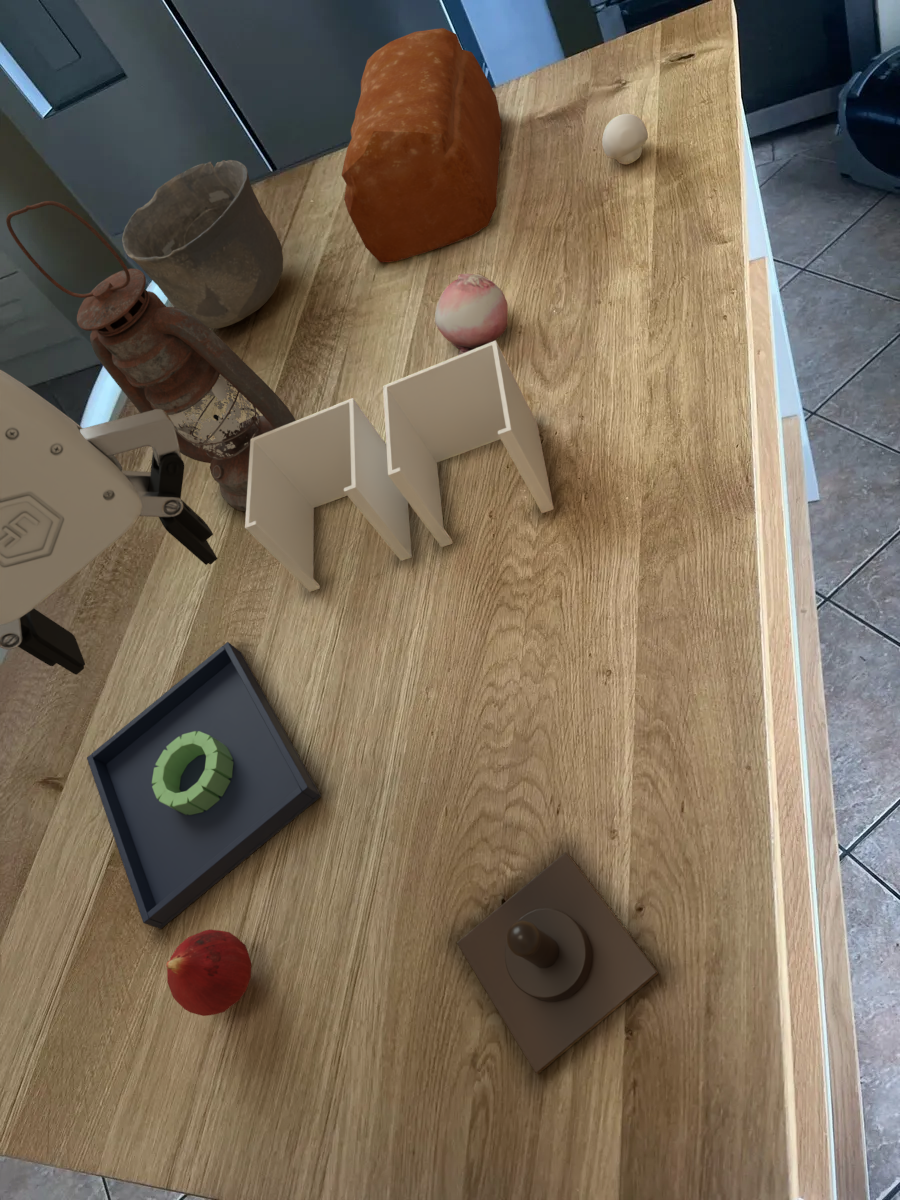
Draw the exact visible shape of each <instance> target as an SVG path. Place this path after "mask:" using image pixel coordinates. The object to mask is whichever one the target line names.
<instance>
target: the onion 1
mask: <svg viewBox="0 0 900 1200" xmlns="http://www.w3.org/2000/svg"><path fill="white" fill-rule="evenodd" d="M165 964H166V965H165V967H166V977H167V979H166V981H167V985H168V988H169V991H170V993H171V996H172V998H173V999H174V1001H175V1002H176V1003H178V1005H179V1006H181V1007H182V1008H183V1009H184V1010H185V1011H187V1012H189V1013H191V1014H194V1015H198V1016H202V1017H207V1016H212V1015H213V1016H214V1015H218V1014H222V1013H225V1012H226V1011H228V1010H229V1009H230V1008H231V1007H232V1006H234V1005H235V1004H237V1003H238V1002H239V1001H240V1000H241V999H242V997H243V996H244V995H245V993H246V992H247V990H248V987H249V984H250V981H251V978H252V961H251V958H250V953H249V951H248V949H247V946H246V944H245V943H244V942H242V941H241V940H240V939H239V937H237V936H236V935H234V934H233V933H231V932H230V931H225V930H218V929H206V930H205V929H204V930H203V931H199V932H198V933H195V934H193V935H190V936H188V937H187V938H185V939H183V941H182V942H181V943H180V944H178V946H177V947H176V948H175V950H174V951H173V953H172V955H171V956H170V959H169V960H168V961H167V962H166V963H165Z"/></svg>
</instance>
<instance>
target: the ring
mask: <svg viewBox="0 0 900 1200" xmlns="http://www.w3.org/2000/svg"><path fill="white" fill-rule="evenodd" d="M166 748H167V750H168V751H167V750H163V752H162V754H161V755H160V757H159V759H158V761H157V762H156V764H155V765H156V766H158V767H155V768H154V771H153V778H152V784H153V786H152V788H153V791H154V793H155V796H156V798H157V799H158V800H159V802H161V803H163V804H165V805H167V806H169V807H171V808H173V809H175V810H177V811H179V812H181V813H183V814H185V815H187V814H188V815H193V814H197V813H201V812H204V810H206V811H207V810H208V809H209V808H210V807H212V806H213V805H214V804H215V803H217V802H218V801H219V800H220V798H219V796H221V797H222V796H223V794H224V793H225V791H226V789H227V787H228V785H229V783H230V782H231V781H230V780H229V778H232V772H233V761H231V760H233V758H232V756H231V754H230V752H229V750H228V748H227V747H226V746H225V745H224V744H222V743H221V742H219V741H218V740H216V739H215V738H213V737H211V736H210V735H207V734H205V733H202V732H200V731H198V732H197V731H194V732H190V733H186V734H182V737H180V736H179V737H177V738H176V739H175V740H174V741H172V742H171V743H170V744H169V745H168V746H166ZM203 754H205V755H206V763H205V770H204V771H203V773H202V775H201V777H200V779H199V780H198V782H197V783H195V784H194V785H193V786H192V787H191V788H189V789H188V790H187V791H184V792H181V791H180V789H179V787H180V780H181V775H182V774H183V772H184V770H185V768H186V767H187V765H188V764H189V763H190V762H191V761H192V760H194V759H195V758H196V757H197V756H199V755H203ZM218 795H219V796H218Z"/></svg>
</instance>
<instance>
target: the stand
mask: <svg viewBox="0 0 900 1200" xmlns="http://www.w3.org/2000/svg"><path fill="white" fill-rule="evenodd" d="M456 944H457V946H458V948H459V949H460V951H461V953H462V954H463V956H464V959H466V961H467V962H468V964H469V966H470V968H471V969H472V971H473V973H474V974H475V976H476V977H477V979H478V981H479V982H480V984H481V986H482V987H483V990H484V991H485V992H486V994H487V996H488V997H489V999H490V1001H491V1002H492V1005H494V1007H495V1009H496V1011H497V1012H498V1014H499V1015H500V1018H501V1019H502V1021H503V1022H504V1023H505V1026H506V1027H507V1029H508V1030H509V1032H510V1034H511V1036H512V1038H514V1040H515V1042H516V1043H517V1046H518V1047H519V1048H520V1050H521V1052H522V1053H523V1055H524V1057H525V1058H526V1060H527V1062H528V1063H529V1065H530V1067H531V1068H532V1070H533V1072H534V1074H536V1075H539V1074H540V1073H542V1072H543V1071H544V1070H545V1069H547V1068H548V1067H549V1066H550V1065H551V1064H552V1063H553V1062H555V1061H556V1060H557V1059H558V1058H560V1057H561V1056H562V1055H563V1054H564V1053H565V1052H567V1051H568V1050H570V1048H572V1047H573V1046H574V1045H575V1044H576V1043H577V1042H579V1041H580V1040H581V1039H582V1038H584V1037H585V1036H586V1035H587V1034H589V1033H590V1032H591V1031H592V1030H593V1029H594V1028H596V1027H597V1026H598V1025H599V1024H600V1023H602V1022H603V1020H605V1019H606V1018H608V1017H609V1016H610V1015H611V1014H612V1013H614V1011H616V1009H618V1008H619V1007H620V1006H622V1005H623V1004H624V1003H625V1002H626V1001H628V1000H629V999H630V998H631V997H632V996H634V995H635V994H636V993H637V992H638V991H640V990H641V989H642V988H643V987H644V986H645V985H647V984H648V983H649V982H650V981H651V980H653V979H654V978H655V977H656V976H657V975H658V974H659V971H658V970H657V969H656V968H655V966H654V964H652V962H651V961H650V959H649V958H648V957H647V955H646V954H645V952H643V950H642V949H641V948H640V947H639V945H638V944H637V942H636V941H635V940H634V938H633V936H631V935H630V933H629V932H628V931H627V929H626V928H625V926H624V925H623V924H622V922H621V921H620V920H619V919H618V918H617V916H616V915H615V913H614V912H613V911H612V910H611V908H610V907H609V905H608V903H606V902H605V900H604V899H603V898H602V896H601V895H600V893H598V891H597V890H596V889H595V887H594V886H593V884H592V883H591V882H590V880H589V879H588V877H586V875H585V874H584V872H583V871H582V870H581V869H580V867H579V866H578V865H577V863H576V862H575V860H573V858H572V857H571V856H570V854H569V853H568V852H567V851H564V852H563V853H562V854H561V855H560V856H559V857H557V858H555V860H554V861H552V862H551V863H550V864H549V865H548V866H547V867H545V868H544V869H543V870H542V871H541V872H539V873H538V874H536V876H534V877H533V878H532V879H531V880H530V881H529V882H527V883H526V884H525V885H524V886H523V887H521V888H520V889H519V890H518V891H516V892H515V893H514V894H513V895H512V896H510V897H509V898H508V899H507V900H506V901H505V902H503V903H502V904H500V906H499V907H498V908H496V909H494V911H493V912H491V913H490V914H489V915H488V916H486V917H485V918H484V919H483V920H482V921H480V923H478V924H477V925H475V927H473V928H472V929H471V930H469V932H468V933H466V934H465V935H464V936H462V937H461V938H460V939H459V940H458V941H456Z"/></svg>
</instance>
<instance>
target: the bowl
mask: <svg viewBox="0 0 900 1200" xmlns="http://www.w3.org/2000/svg"><path fill="white" fill-rule="evenodd" d="M121 237H122V238H121V241H122V246H123V250H124V252H125V254H126V255H127V256H128V257H129V258H130V259H131V260H132V261H134V262H135V263H136V265H138V266H139V267H140V268H141V269H142V271H144V273H145V274H146V275H147V276H148V277H149V278H150V280H151V281H153V283H154V284H155V285H156V286H157V287H158V288H159V289H160V290H161V292H162V293H163V295H164V296H165V297H166V299H167V300H168V301H169V302H170V304H171V305H172V307H175V308H179V309H182V310H184V311H186V312H188V313H190V314H191V315H193V316H194V317H196V318H197V319H198V320H200V321H201V322H202V323H203V324H205V325H206V326H207V327H208V328H209V329H222V328H225V327H229V326H231V325H235V324H236V323H239V322H241V321H243V320H244V319H245V318H247V317H248V316H250V315H253V314H254V313H255V312H257V311H258V310H260V309H261V308H262V307H263V306H264V305H265V304H266V303H267V302H268V301H269V300H270V298H271V297H272V296H273V294H274V293H275V292H276V289H277V288H278V285H279V282H280V280H281V277H282V274H283V271H284V256H283V247H282V244H281V241H280V239H279V237H278V234H277V232H276V231H275V229H274V226H273V224H272V223H271V220H269V218H268V216H267V215H266V213H265V212H264V210H263V208H262V206H261V204H260V201H259V199H258V197H257V195H256V194H255V191H254V188H253V187H252V185H251V181H250V176H249V172H248V168H247V166H246V165H245V164H243V163H242V162H240V161H238V160H236V159H235V160H232V159H227V160H225V159H222V160H221V161H217V162H216V163H215V165H213V163H212V161H208V162H207V163H200V164H196V165H194V166H193V167H190V168H188V169H186V170H185V171H183V172H180V173H179V174H177V175H175V176H173V177H172V178H171V179H169V180H168V181H166V182H165V183H163V184H162V185H161V186H159V187H158V188H157V189H156V190H155V192H154V194H153V196H152V198H151V199H150V200H149V201H148V202H147V203H145V204H144V205H142V207H138V208H137V209H136V210H135V212H133V214H132V215H131V216H130V218H129V220H128V221H127V223H126V225H125V227H124V229H123V233H122V236H121Z"/></svg>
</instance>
